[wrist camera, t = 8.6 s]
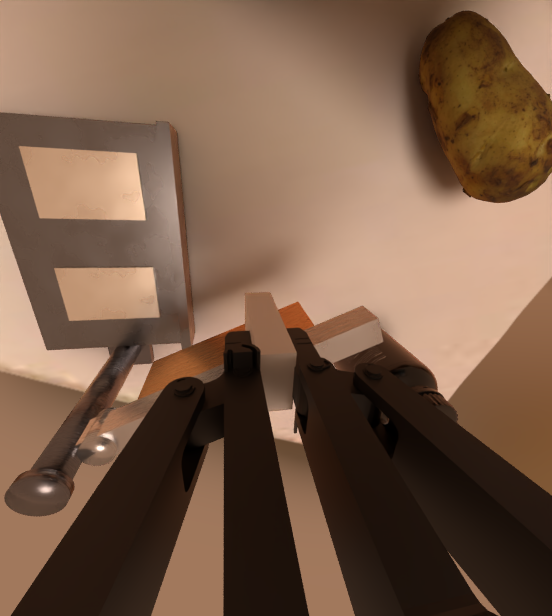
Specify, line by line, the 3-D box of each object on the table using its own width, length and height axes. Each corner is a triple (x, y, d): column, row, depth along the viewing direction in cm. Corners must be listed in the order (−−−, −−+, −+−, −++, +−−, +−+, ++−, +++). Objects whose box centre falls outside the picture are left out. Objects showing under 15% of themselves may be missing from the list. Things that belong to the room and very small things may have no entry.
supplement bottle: (332, 378, 32) (387, 471, 21) (326, 329, 29) (386, 408, 19) (385, 363, 33) (465, 447, 22) (385, 314, 30) (476, 382, 19)
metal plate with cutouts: (-10, 118, 18) (-54, 103, 15) (176, 132, 20) (168, 122, 17) (59, 338, 25) (38, 358, 22) (195, 332, 27) (191, 349, 24)
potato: (498, 16, 21) (643, -77, 14) (485, 190, 26) (583, 189, 19) (400, 42, 21) (496, -41, 13) (406, 213, 26) (477, 221, 19)
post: (108, 328, 25) (-22, 479, 12) (148, 327, 26) (69, 468, 13) (115, 361, 26) (6, 528, 13) (154, 358, 27) (87, 515, 14)
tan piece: (331, 279, 20) (380, 319, 14) (337, 299, 21) (386, 346, 15) (118, 368, 20) (69, 449, 14) (132, 385, 21) (91, 470, 15)
